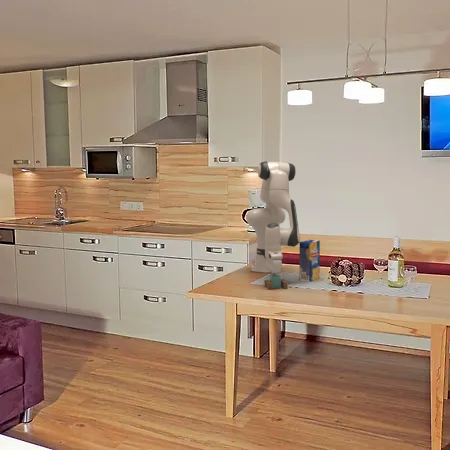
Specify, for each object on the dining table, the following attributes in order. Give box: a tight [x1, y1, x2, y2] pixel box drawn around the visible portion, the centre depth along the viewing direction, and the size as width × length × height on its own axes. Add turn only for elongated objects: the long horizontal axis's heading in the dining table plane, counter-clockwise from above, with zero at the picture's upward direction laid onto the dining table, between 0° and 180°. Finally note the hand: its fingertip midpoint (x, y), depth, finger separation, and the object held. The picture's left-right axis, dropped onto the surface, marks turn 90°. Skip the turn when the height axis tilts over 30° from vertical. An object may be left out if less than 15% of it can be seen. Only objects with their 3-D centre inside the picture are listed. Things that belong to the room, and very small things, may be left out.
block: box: [269, 274, 282, 289], centre depth 310 cm, size 5×5×6 cm
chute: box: [264, 278, 288, 291], centre depth 309 cm, size 9×10×4 cm
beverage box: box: [299, 239, 321, 282], centre depth 327 cm, size 7×11×22 cm, turn 141°
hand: (273, 278), depth 314 cm, fingers closed
